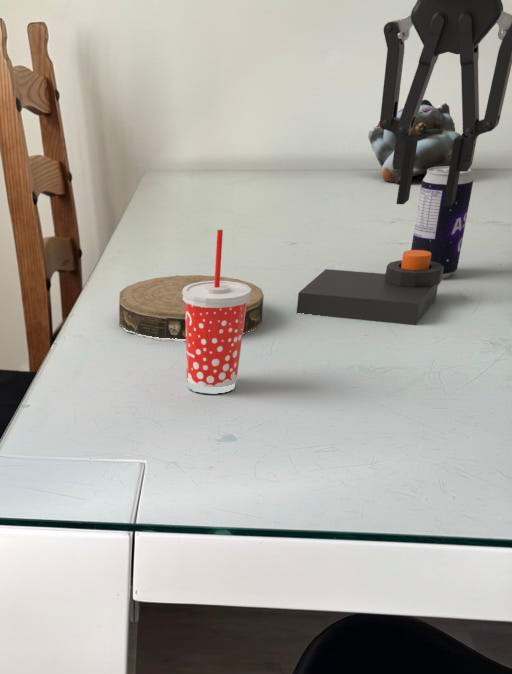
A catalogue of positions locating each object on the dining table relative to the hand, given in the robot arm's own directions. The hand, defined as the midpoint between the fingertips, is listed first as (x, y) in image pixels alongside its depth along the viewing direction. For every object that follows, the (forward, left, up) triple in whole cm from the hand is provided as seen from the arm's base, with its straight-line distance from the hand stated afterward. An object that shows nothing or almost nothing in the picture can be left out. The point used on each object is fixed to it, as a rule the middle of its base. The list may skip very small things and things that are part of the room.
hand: (425, 202), depth 109 cm
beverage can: (0, -12, -11) cm, 17 cm away
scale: (+4, +4, -11) cm, 12 cm away
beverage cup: (+11, +34, -11) cm, 38 cm away
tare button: (0, 0, -7) cm, 7 cm away
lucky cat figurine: (+16, -78, -11) cm, 81 cm away
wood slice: (+21, +16, -11) cm, 28 cm away
